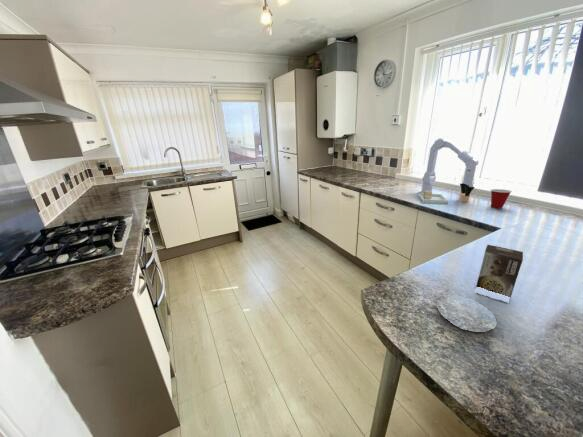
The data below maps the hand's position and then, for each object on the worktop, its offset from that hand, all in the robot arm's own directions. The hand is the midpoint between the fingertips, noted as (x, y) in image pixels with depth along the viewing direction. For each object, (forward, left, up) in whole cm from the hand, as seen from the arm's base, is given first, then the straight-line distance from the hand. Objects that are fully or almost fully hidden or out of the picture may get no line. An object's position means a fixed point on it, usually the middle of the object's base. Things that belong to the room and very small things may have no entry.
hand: (464, 194), depth 177 cm
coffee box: (+116, -29, -5) cm, 120 cm away
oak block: (-2, -24, -4) cm, 24 cm away
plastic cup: (+13, +15, -5) cm, 20 cm away
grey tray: (+1, -21, -5) cm, 22 cm away
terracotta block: (0, 0, -5) cm, 5 cm away
